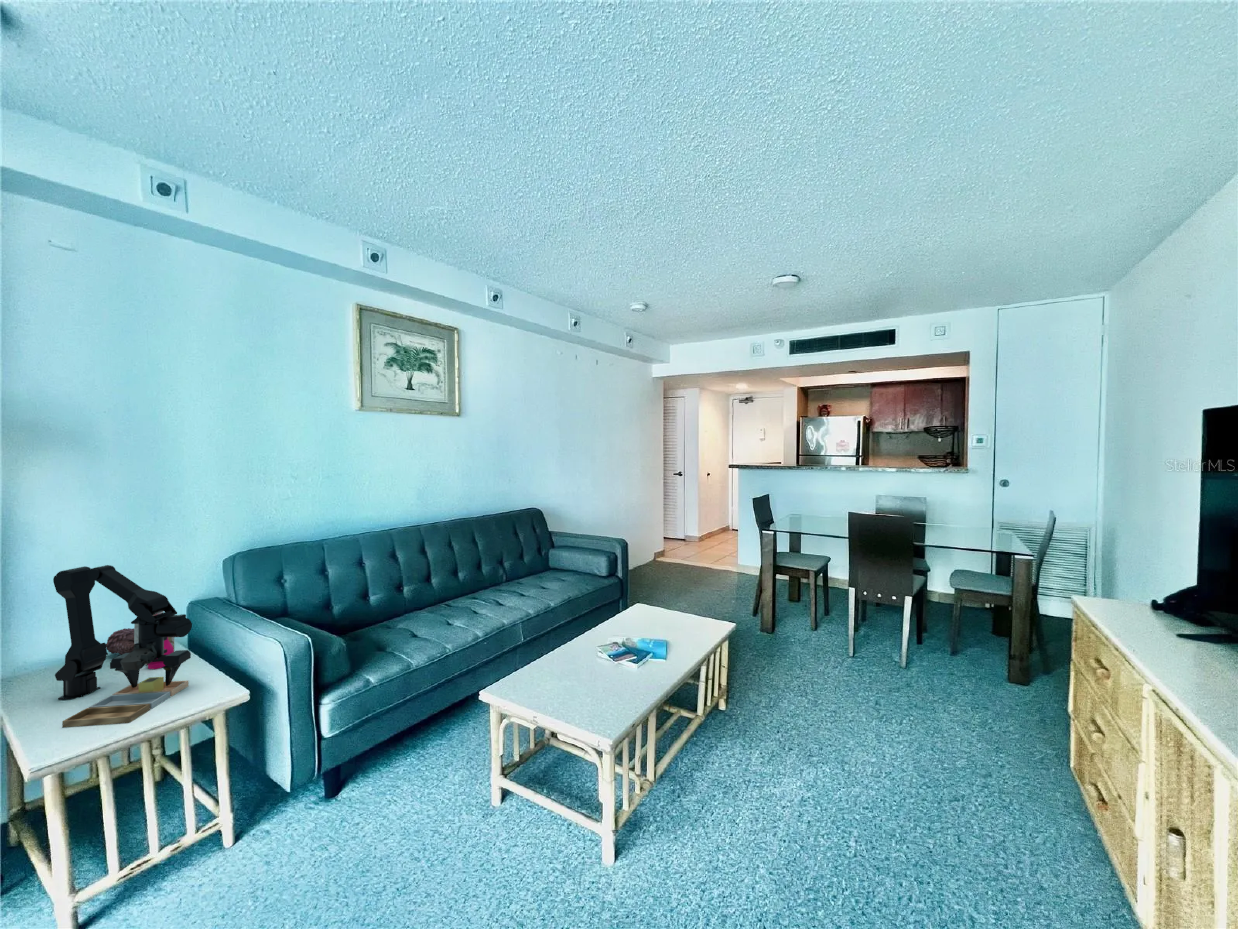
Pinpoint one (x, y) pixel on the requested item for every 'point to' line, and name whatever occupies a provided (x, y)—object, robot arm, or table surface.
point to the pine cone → (121, 641)
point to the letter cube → (152, 684)
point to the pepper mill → (169, 650)
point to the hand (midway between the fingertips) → (151, 686)
